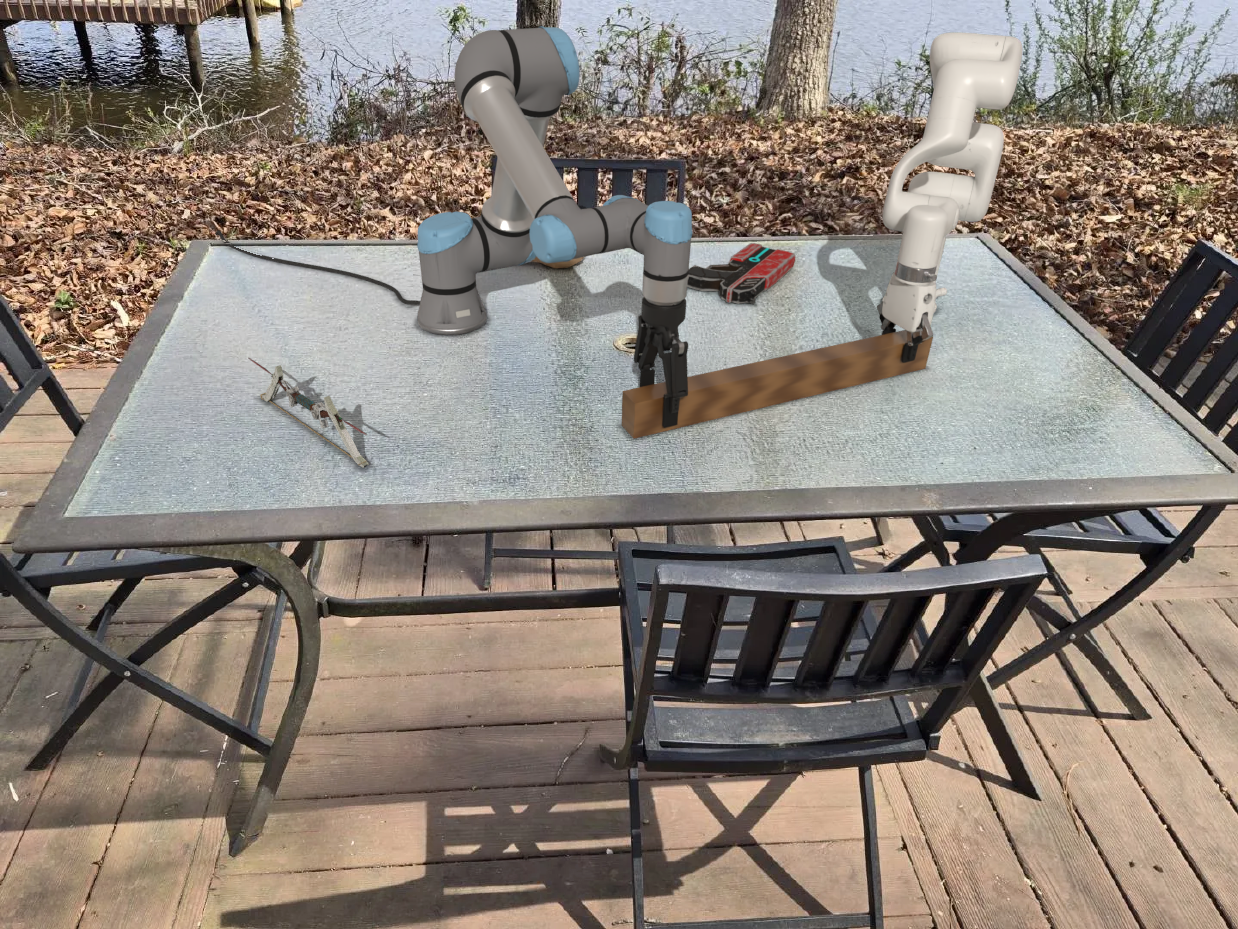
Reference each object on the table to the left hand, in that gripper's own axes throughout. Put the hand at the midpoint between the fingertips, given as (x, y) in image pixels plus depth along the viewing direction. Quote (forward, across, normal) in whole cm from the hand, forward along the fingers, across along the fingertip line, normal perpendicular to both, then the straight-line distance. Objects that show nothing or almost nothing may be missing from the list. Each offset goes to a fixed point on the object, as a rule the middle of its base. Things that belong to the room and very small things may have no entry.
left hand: (657, 413), depth 160 cm
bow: (+3, +24, +58) cm, 62 cm away
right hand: (-1, 0, -56) cm, 56 cm away
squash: (+3, +83, -12) cm, 84 cm away
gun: (+3, +54, -53) cm, 76 cm away
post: (+3, 0, -28) cm, 28 cm away
